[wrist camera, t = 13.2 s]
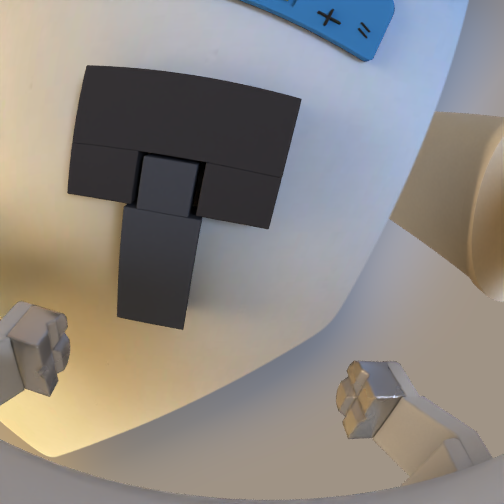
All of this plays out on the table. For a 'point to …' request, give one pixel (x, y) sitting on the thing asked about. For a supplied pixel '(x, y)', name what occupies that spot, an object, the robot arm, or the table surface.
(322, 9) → the handheld gaming device
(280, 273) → the table surface
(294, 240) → the table surface
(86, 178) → the charcoal u-shaped block
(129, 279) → the charcoal tabbed block
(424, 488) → the robot arm
